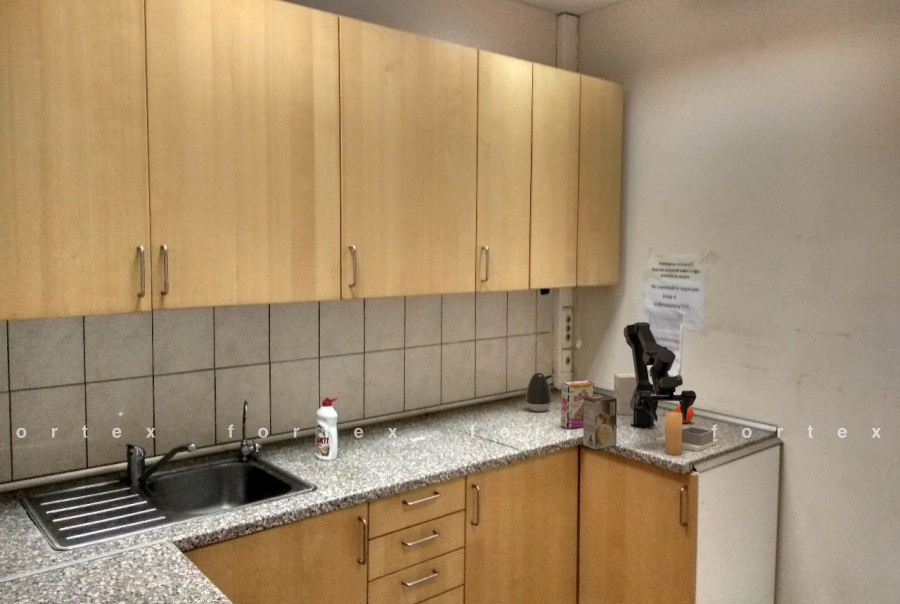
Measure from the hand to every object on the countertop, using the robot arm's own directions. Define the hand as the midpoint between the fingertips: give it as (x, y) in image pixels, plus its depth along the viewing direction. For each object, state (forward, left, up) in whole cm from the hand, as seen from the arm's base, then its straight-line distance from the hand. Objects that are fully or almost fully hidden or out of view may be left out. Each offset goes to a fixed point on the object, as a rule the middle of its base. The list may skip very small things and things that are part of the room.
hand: (671, 420), depth 230 cm
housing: (-1, +12, -10) cm, 16 cm away
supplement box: (-39, +34, -10) cm, 53 cm away
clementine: (-16, +36, -10) cm, 41 cm away
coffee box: (-19, -12, -10) cm, 25 cm away
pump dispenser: (-65, +11, -10) cm, 67 cm away
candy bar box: (-39, +2, -10) cm, 40 cm away
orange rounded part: (+2, -2, -10) cm, 10 cm away
